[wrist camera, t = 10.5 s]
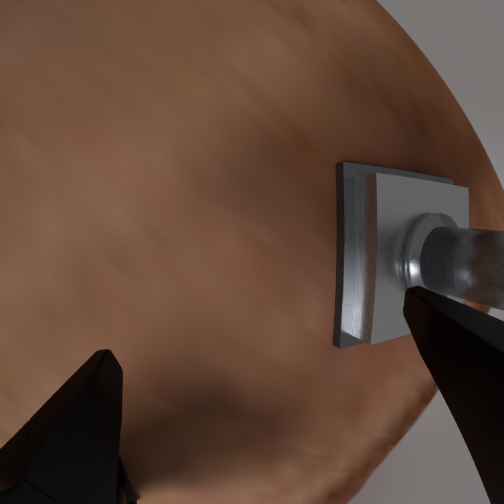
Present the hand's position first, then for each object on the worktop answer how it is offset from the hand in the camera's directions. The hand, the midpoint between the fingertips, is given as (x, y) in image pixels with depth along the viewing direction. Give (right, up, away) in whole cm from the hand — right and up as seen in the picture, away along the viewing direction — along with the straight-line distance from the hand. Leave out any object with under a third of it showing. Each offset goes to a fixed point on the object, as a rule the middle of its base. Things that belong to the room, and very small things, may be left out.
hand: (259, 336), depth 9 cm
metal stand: (+13, +2, +17) cm, 21 cm away
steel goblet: (+14, +2, +13) cm, 19 cm away
